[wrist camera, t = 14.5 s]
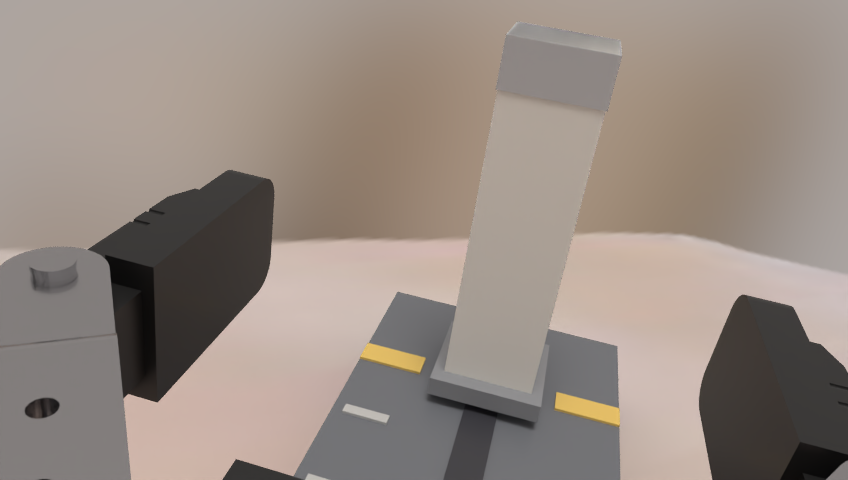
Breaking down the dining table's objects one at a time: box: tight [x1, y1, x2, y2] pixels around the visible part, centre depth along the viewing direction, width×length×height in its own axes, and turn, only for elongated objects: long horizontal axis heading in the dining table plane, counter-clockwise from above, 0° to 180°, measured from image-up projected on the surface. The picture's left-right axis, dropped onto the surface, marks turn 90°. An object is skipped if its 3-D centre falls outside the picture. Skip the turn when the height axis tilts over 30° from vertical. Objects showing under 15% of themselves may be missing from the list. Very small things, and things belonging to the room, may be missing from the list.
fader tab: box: [427, 22, 622, 423], centre depth 24 cm, size 4×4×13 cm
